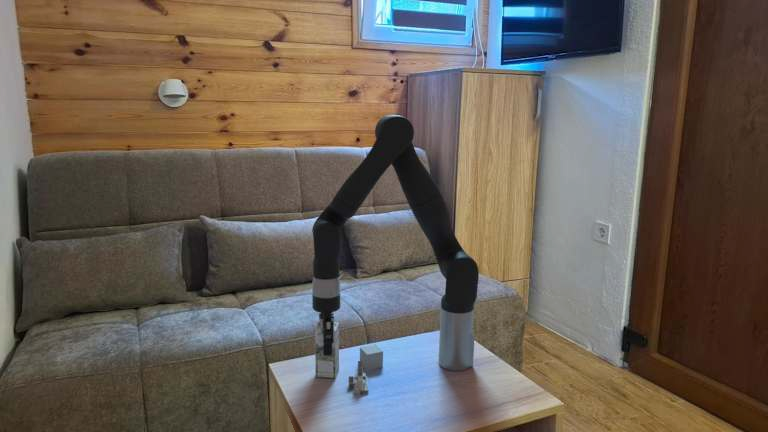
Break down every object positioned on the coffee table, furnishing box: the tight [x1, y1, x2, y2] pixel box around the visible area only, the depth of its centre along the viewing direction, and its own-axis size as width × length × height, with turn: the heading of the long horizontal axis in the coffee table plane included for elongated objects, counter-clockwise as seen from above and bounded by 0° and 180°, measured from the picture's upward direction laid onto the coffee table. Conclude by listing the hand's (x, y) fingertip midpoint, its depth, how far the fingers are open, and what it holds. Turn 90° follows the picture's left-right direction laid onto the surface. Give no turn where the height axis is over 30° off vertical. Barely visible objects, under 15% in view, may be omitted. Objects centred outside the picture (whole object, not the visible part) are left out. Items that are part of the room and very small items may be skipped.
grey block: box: [359, 344, 384, 371], centre depth 153 cm, size 5×5×5 cm
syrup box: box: [314, 321, 340, 380], centre depth 147 cm, size 6×6×14 cm
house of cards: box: [348, 360, 369, 395], centre depth 142 cm, size 9×9×8 cm
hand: (326, 348), depth 147 cm, fingers open, 8 cm apart
